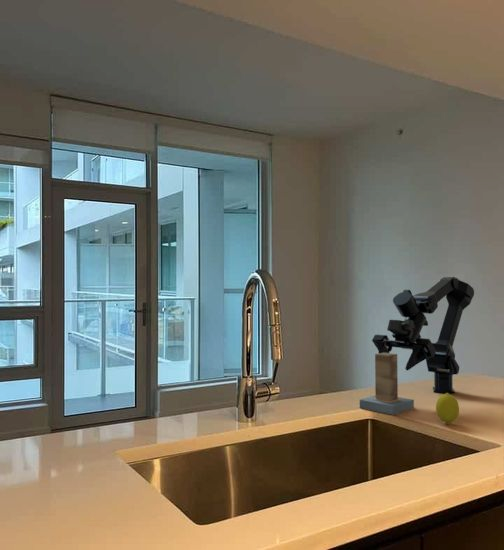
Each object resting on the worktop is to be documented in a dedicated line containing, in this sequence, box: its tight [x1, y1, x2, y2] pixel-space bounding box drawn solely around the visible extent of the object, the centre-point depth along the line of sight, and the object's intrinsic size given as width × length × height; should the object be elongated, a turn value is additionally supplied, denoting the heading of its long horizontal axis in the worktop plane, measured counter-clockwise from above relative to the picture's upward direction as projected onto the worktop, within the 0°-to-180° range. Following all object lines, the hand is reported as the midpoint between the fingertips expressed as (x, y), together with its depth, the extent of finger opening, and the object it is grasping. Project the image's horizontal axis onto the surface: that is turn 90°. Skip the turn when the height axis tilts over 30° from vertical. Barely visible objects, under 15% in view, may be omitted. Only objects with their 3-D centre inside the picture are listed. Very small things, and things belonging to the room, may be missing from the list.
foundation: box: [359, 394, 415, 416], centre depth 150 cm, size 11×11×3 cm
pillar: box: [374, 352, 399, 401], centre depth 150 cm, size 4×4×13 cm
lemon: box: [435, 393, 460, 425], centre depth 132 cm, size 6×6×8 cm
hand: (392, 367), depth 152 cm, fingers open, 9 cm apart
